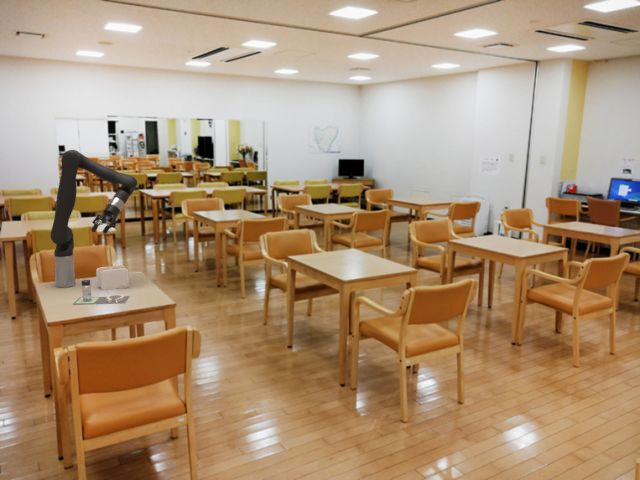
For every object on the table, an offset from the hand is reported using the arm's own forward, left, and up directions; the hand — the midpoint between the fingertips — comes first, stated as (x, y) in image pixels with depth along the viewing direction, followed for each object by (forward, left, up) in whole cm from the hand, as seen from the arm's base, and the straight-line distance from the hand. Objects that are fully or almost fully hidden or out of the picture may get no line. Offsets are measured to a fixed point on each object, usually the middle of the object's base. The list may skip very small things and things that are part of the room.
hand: (98, 232), depth 281 cm
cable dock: (+4, -18, -33) cm, 37 cm away
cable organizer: (+4, +7, -33) cm, 34 cm away
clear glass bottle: (-3, -18, -31) cm, 36 cm away
